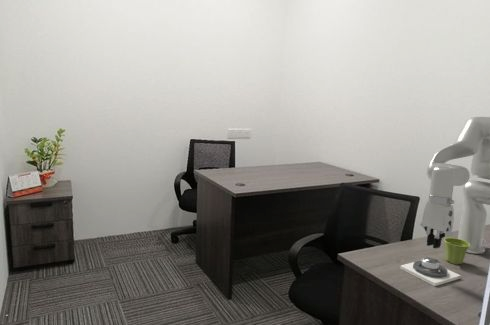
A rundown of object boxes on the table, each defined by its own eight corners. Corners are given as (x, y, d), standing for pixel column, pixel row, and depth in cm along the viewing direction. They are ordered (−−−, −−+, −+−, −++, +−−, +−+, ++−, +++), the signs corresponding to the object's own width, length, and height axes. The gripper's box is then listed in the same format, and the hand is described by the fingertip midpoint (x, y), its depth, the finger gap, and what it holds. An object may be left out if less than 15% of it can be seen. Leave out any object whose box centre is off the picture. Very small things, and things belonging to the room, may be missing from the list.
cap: (427, 265, 145) (429, 255, 144) (441, 272, 140) (443, 261, 139) (417, 268, 142) (418, 258, 142) (431, 275, 137) (432, 264, 136)
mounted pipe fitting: (424, 261, 151) (425, 256, 151) (460, 278, 138) (461, 272, 138) (399, 268, 144) (400, 262, 144) (434, 286, 131) (435, 280, 131)
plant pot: (441, 254, 159) (444, 235, 158) (466, 260, 155) (469, 240, 153) (440, 262, 151) (443, 242, 150) (467, 268, 147) (470, 248, 145)
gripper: (467, 204, 131) (459, 253, 134) (427, 193, 145) (421, 237, 148) (454, 206, 127) (446, 256, 131) (414, 195, 141) (408, 240, 144)
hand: (433, 246), depth 139 cm, fingers closed
